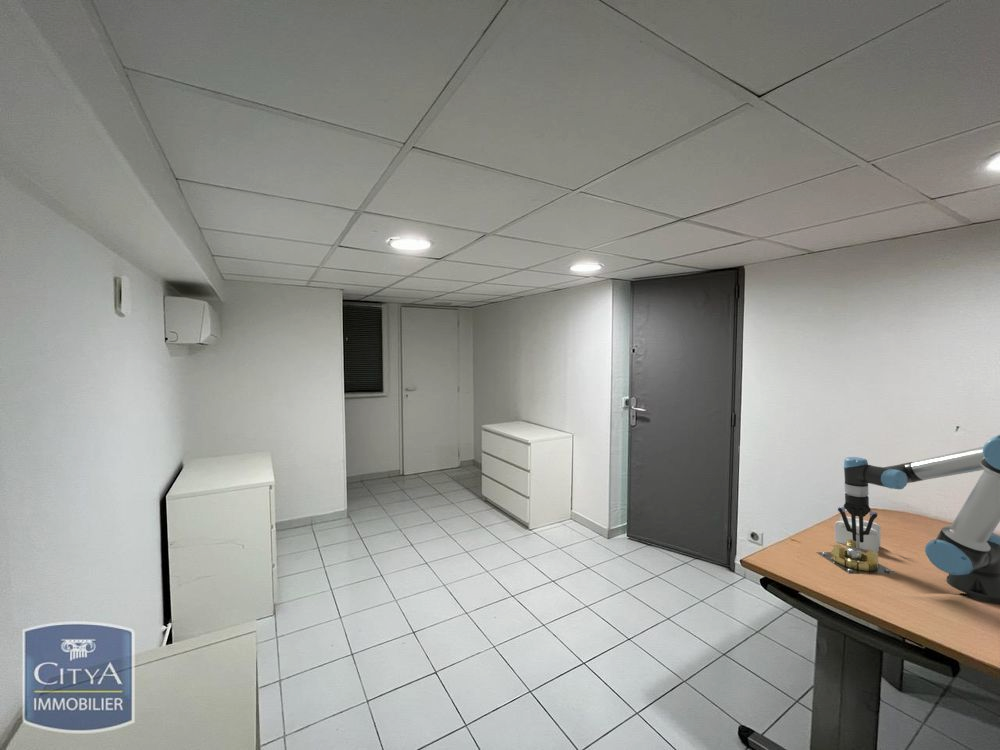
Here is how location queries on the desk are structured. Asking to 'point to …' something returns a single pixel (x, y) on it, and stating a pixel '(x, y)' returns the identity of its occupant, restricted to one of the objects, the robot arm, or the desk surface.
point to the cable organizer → (869, 541)
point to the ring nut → (869, 558)
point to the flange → (855, 555)
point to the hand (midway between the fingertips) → (858, 548)
